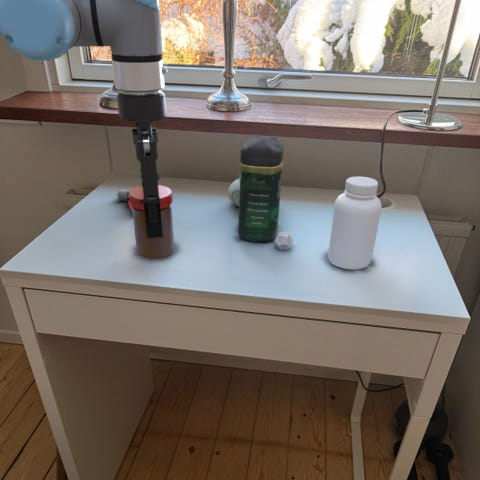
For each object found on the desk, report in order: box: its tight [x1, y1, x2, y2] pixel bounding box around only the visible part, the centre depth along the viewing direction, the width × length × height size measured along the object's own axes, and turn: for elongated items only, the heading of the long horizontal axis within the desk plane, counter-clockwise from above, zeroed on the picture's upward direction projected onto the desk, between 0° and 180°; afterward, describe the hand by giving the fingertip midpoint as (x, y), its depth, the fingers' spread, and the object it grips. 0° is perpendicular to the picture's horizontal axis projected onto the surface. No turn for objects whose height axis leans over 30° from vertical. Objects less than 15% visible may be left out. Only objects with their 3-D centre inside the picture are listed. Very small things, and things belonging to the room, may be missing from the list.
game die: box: [273, 231, 294, 251], centre depth 89 cm, size 4×4×3 cm
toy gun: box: [115, 189, 132, 212], centre depth 104 cm, size 10×12×5 cm
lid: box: [129, 184, 173, 210], centre depth 82 cm, size 8×8×2 cm
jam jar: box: [131, 204, 175, 259], centre depth 85 cm, size 7×7×11 cm
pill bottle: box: [327, 175, 383, 271], centre depth 82 cm, size 8×8×15 cm
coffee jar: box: [237, 135, 285, 243], centre depth 90 cm, size 10×8×19 cm
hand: (153, 225), depth 86 cm, fingers open, 9 cm apart
